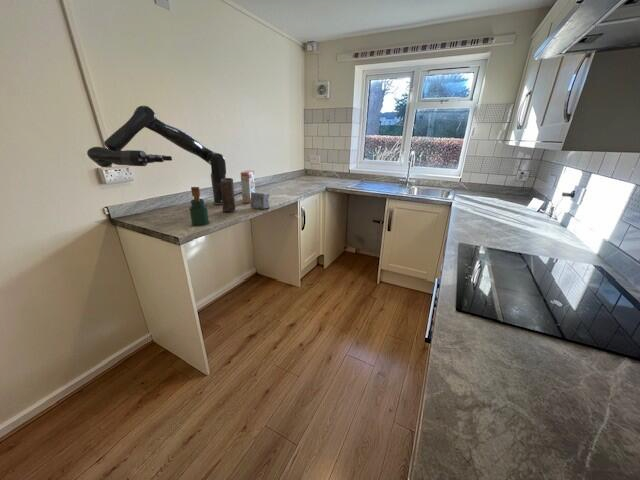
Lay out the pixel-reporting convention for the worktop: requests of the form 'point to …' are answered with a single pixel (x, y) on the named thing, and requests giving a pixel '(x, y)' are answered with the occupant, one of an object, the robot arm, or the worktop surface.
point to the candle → (227, 194)
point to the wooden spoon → (195, 193)
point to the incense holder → (259, 200)
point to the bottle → (199, 213)
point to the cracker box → (247, 185)
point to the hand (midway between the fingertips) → (167, 159)
